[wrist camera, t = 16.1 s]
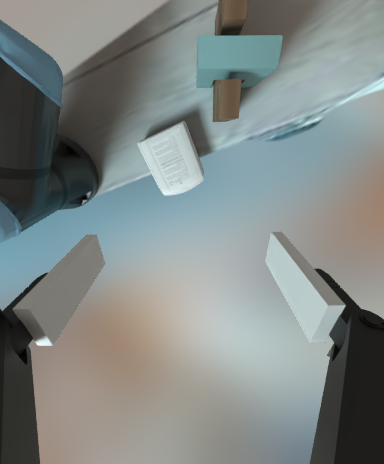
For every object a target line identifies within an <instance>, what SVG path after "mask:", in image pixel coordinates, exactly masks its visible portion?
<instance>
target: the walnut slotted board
mask: <svg viewBox="0 0 384 464" xmlns="http://www.w3.org/2000/svg"><path fill="white" fill-rule="evenodd" d="M247 5H248V0H219V4H218V9H217V14H216V19H215V36H239V34H240V31H241V29H242V27H243V25H244V23H245V21H246V18H247ZM241 80H242V79H224V80H214V90H213V122H226V121H230V120H233V119H237V118H239V105H240V93H241Z"/></svg>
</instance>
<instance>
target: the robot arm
mask: <svg viewBox="0 0 384 464" xmlns="http://www.w3.org/2000/svg"><path fill="white" fill-rule="evenodd" d="M62 85H63V75H62V72H61V69H60V67H59V65H58V64H57V63H56V61H55V60H54V59H53V58H52V57H51V56H50V55H49V54H47V53H46V52H45V51H43V50H42V49H41V48H39V47H38V46H37V45H35V44H34V43H32V42H31V41H30V40H28V39H27V38H25V37H24V36H23V35H21V34H20V33H18V32H17V31H16V30H14V29H13V28H11V27H10V26H8V25H7V24H5V23H4V22H2V21H1V20H0V243H1V242H4V241H6V240H8V239H10V238H12V237H16V236H18V235H19V234H20V233H21V232H22V231H24V230H25V229H27V228H29V227H30V226H32V225H34V224H35V223H37V222H39V221H40V220H42V219H44V218H46V217H47V216H49V215H50V214H52V213H54V212H56V211H57V210H64V209H73V208H77V207H80V206H82V205H84V204H86V203H87V202H89V201H90V200H91V199H92V198H93V197H94V195H95V194H96V191H97V188H98V175H97V171H96V168H95V166H94V164H93V162H92V160H91V158H90V157H89V156H88V154H87V153H86V152H85V151H84V150H83V149H82V148H81V147H80V146H78V145H77V144H76V143H74V142H73V141H71V140H69V139H67V138H64V137H61V136H57V135H56V133H57V127H58V120H59V114H60V108H61V109H62V103H61V96H62ZM265 262H266V264H267V266H268V267H269V269H270V271H271V273H272V275H273V277H274V279H275V280H276V282H277V284H278V286H279V287H280V289H281V291H282V293H283V295H284V297H285V298H286V300H287V302H288V304H289V306H290V308H291V309H292V311H293V313H294V315H295V316H296V318H297V320H298V322H299V324H300V326H301V327H302V329H303V331H304V333H305V335H306V336H307V338H308V340H309V342H310V343H325V342H326V340H327V338H328V337H329V335H330V337H331V338H332V340H333V341H334V344H333V346H332V348H331V349H330V351H329V353H328V354H327V356H329V357H330V360H329V365H328V371H327V376H326V382H325V387H324V392H323V397H322V402H321V408H320V413H319V418H318V423H317V429H316V434H315V439H314V444H313V449H312V455H311V460H310V464H384V319H382V318H381V317H379V316H378V315H376V314H374V313H372V312H370V311H367V310H364V309H361V308H360V307H359V306H358V305H357V304H356V303H355V302H354V301H353V300H352V299H351V298H350V297H349V295H348V294H346V292H345V291H344V290H343V289H342V288H340V286H339V285H338V284H337V283H336V282H335V281H334V280H333V278H331V276H330V275H329V274H327V273H325V272H324V271H323V270H321V269H314V268H313V267H312V266H311V265H310V264H309V263H308V261H307V260H306V259H305V258H304V257H303V256H302V255H301V254H300V252H299V251H298V250H297V249H296V248H295V247H294V246H293V244H292V243H291V242H290V241H289V240H288V239H287V237H286V236H285V235H284V234H283V233H282V232H272V233H271V237H270V242H269V246H268V251H267V255H266V260H265ZM104 265H105V261H104V258H103V255H102V252H101V248H100V245H99V241H98V238H97V235H86V236H85V237H84V238H83V239H82V240H81V241H80V242H79V243H78V244H77V245H76V246H75V247H74V248H73V249H72V250H71V251H70V252H69V253H68V254H67V255H66V256H65V257H64V258H63V259H62V260H61V261H60V262H59V263H58V264H57V265H56V266H55V267H54V268H53V269H52V270H51V271H50V272H49V273H45V274H43V275H41V276H40V277H38V278H37V279H36V280H34V281H33V282H32V283H31V284H30V285H29V287H27V288H26V289H25V290H24V291H23V293H21V294H20V295H19V296H18V297H17V298H16V299H15V300H14V301H13V302H12V303H11V304H10V305H9V306H7V308H5V309H4V310H3V311H2V310H1V309H0V464H40V458H39V445H38V433H37V422H36V410H35V398H34V387H33V374H32V363H31V351H30V348H29V346H28V345H29V343H30V342H31V341H32V339H34V341H35V342H36V344H37V345H38V346H46V345H47V346H48V345H49V346H50V345H53V344H54V343H55V341H56V340H57V338H58V337H59V335H60V334H61V332H62V330H63V329H64V327H65V326H66V324H67V323H68V321H69V319H70V318H71V316H72V315H73V313H74V312H75V310H76V309H77V307H78V305H79V304H80V302H81V301H82V299H83V298H84V296H85V295H86V293H87V291H88V290H89V288H90V287H91V285H92V283H93V282H94V280H95V279H96V277H97V276H98V274H99V272H100V271H101V270H102V268H103V266H104Z"/></svg>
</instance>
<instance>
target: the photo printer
mask: <svg viewBox="0 0 384 464" xmlns="http://www.w3.org/2000/svg"><path fill="white" fill-rule="evenodd" d="M137 145H138V147H139V149H140V151H141V153H142V155H143V157H144V159H145V161H146V163H147V165H148V167H149V169H150V171H151V173H152V175H153V177H154V179H155V181H156V183H157V185H158V187H159V188H160V190H161V191H162V193H163V194H164V195H175V194H180V193H183V192H186V191H188V190H190V189H192V188H194V187H195V186H197V185H198V184H199V183H201V182H202V181H203V180H204V177H203V168H202V165H201V162H200V159H199V157H198V154H197V151H196V148H195V146H194V143H193V140H192V137H191V135H190V132H189V129H188V126H187V124H186V121H182V122H180V123H178V124H176V125H174V126H171V127H169V128H167V129H165V130H163V131H161V132H159V133H157V134H155V135H153V136H151V137H149V138H146V139H144V140H142V141H140V142H138V143H137Z"/></svg>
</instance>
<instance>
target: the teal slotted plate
mask: <svg viewBox="0 0 384 464" xmlns="http://www.w3.org/2000/svg"><path fill="white" fill-rule="evenodd" d="M282 40H283V35H245V36H198V52H197V88H211V86H212V83H213V81H214V80H224V79H242V80H241V87H253V86H254V85H256V84H257V83H258V82H260V81H261V80H262V79H264V78H265V77H267V76H268V75H269V74H271V73H272V72H273V71H275V70H276V69H277V68H278V64H279V58H280V52H281V46H282Z"/></svg>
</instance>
